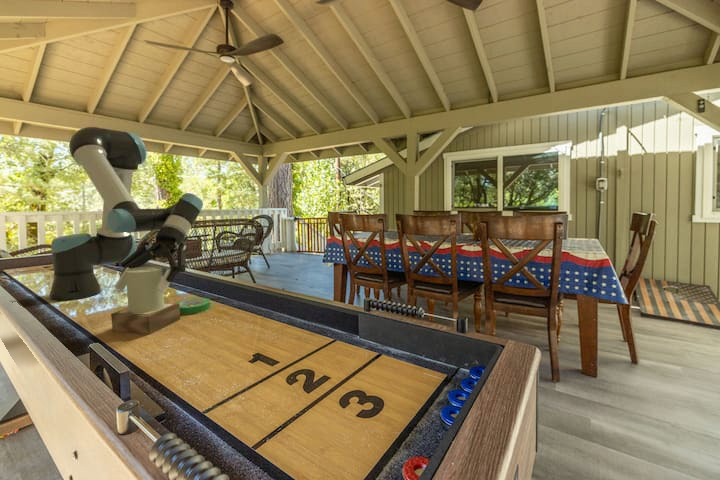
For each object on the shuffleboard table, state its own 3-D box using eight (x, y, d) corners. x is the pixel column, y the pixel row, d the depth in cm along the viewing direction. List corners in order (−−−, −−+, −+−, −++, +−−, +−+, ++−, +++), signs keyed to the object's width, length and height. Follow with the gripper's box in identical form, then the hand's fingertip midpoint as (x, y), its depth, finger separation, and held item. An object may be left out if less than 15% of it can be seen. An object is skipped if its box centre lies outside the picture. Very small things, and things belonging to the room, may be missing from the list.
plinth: (112, 331, 95) (111, 313, 94) (146, 316, 107) (145, 300, 106) (150, 334, 93) (148, 315, 92) (180, 319, 105) (179, 303, 104)
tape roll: (192, 316, 108) (191, 308, 108) (166, 312, 112) (165, 305, 112) (217, 306, 118) (217, 299, 118) (193, 303, 122) (193, 296, 122)
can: (147, 313, 94) (144, 271, 93) (119, 311, 96) (116, 269, 95) (172, 304, 103) (169, 265, 102) (146, 302, 105) (143, 264, 103)
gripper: (214, 240, 110) (185, 298, 97) (146, 239, 114) (110, 294, 101) (203, 225, 104) (171, 285, 91) (132, 224, 109) (92, 281, 96)
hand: (139, 290), depth 96 cm, fingers open, 13 cm apart
